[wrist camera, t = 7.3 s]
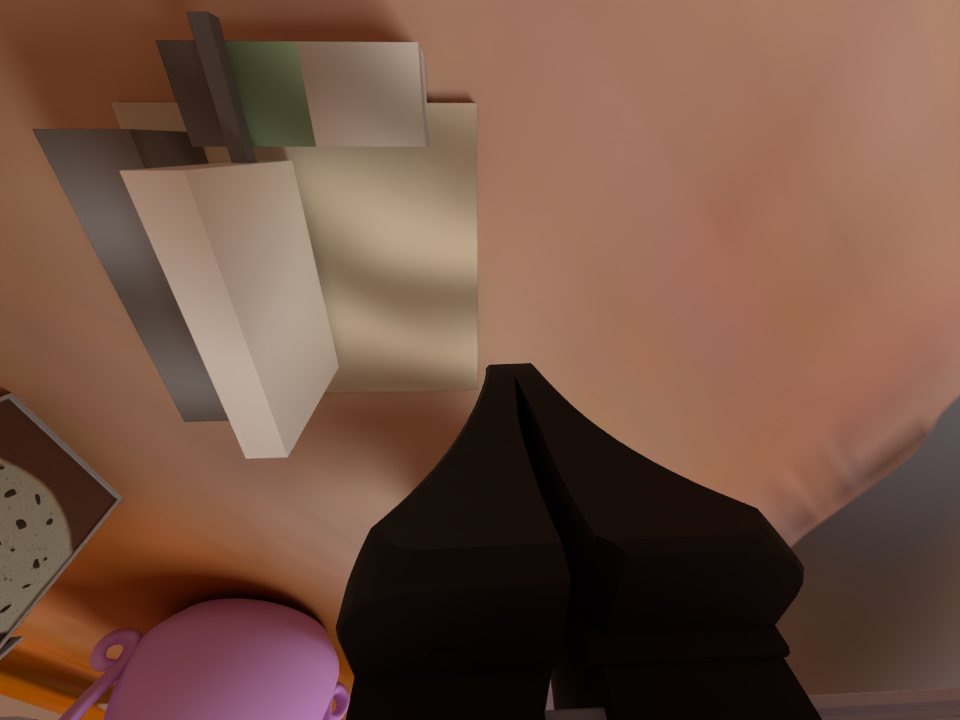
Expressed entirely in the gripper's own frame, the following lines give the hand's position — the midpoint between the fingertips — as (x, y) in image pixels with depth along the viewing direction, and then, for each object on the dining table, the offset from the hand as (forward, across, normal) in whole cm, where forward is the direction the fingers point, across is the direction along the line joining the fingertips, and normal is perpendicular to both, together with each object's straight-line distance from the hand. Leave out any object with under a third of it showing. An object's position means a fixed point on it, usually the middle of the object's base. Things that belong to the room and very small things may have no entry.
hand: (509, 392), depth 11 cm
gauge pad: (+8, +9, -3) cm, 13 cm away
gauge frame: (+9, +8, -1) cm, 12 cm away
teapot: (+10, +24, +36) cm, 44 cm away
